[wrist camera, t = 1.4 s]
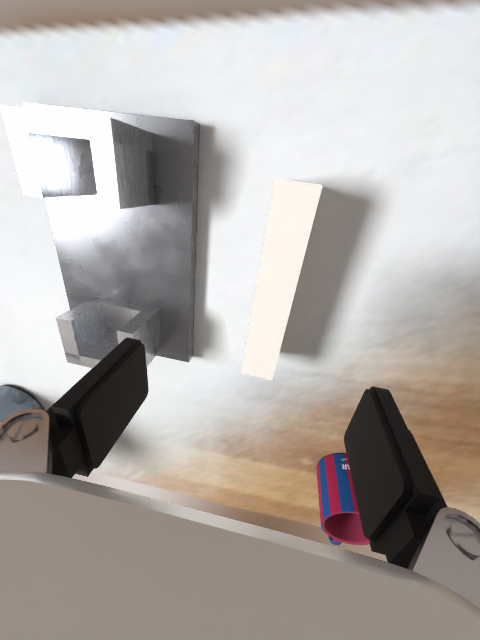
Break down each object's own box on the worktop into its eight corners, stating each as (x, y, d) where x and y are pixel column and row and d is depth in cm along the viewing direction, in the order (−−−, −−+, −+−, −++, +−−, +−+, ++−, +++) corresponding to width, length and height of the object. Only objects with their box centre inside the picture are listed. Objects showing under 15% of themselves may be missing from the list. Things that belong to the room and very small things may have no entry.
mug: (380, 464, 32) (399, 526, 26) (344, 502, 37) (353, 562, 31) (329, 445, 33) (337, 503, 27) (299, 486, 38) (300, 542, 32)
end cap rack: (199, 124, 20) (162, 100, 14) (192, 356, 30) (169, 393, 25) (36, 106, 21) (-53, 79, 16) (83, 333, 32) (40, 363, 26)
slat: (316, 185, 20) (322, 185, 16) (275, 350, 28) (272, 380, 24) (279, 179, 20) (274, 177, 16) (248, 344, 28) (240, 373, 24)
